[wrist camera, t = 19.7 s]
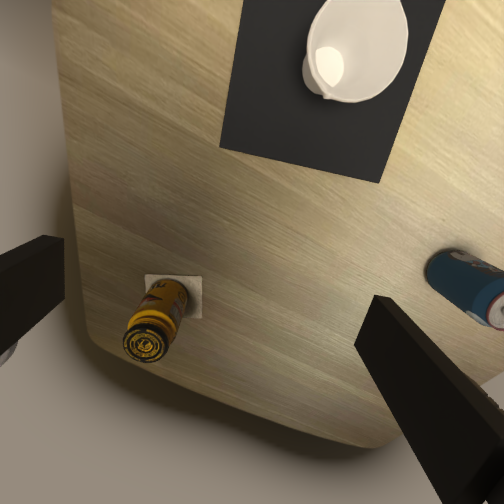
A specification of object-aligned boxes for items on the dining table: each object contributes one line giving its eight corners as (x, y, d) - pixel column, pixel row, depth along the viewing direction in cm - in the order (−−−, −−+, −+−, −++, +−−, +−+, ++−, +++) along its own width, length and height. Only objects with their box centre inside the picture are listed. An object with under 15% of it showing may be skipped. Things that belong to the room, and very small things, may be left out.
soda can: (432, 295, 46) (493, 345, 35) (415, 263, 44) (475, 304, 33) (473, 273, 45) (550, 316, 34) (458, 238, 43) (535, 272, 32)
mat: (219, 147, 37) (219, 147, 37) (256, -76, 30) (256, -78, 29) (378, 183, 39) (379, 183, 39) (449, -15, 32) (451, -16, 32)
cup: (273, 84, 34) (285, 63, 25) (322, 6, 32) (356, -50, 23) (329, 130, 37) (360, 126, 27) (380, 60, 34) (432, 29, 25)
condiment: (144, 273, 43) (111, 320, 32) (202, 275, 43) (188, 322, 32) (148, 315, 46) (118, 372, 34) (202, 317, 46) (190, 373, 35)
